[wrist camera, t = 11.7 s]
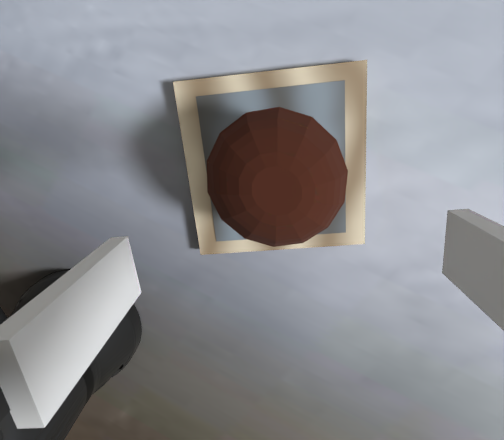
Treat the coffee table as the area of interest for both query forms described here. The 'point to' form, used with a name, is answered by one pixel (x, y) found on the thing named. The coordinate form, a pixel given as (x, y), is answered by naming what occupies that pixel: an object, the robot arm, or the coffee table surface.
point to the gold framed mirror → (270, 96)
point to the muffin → (276, 177)
